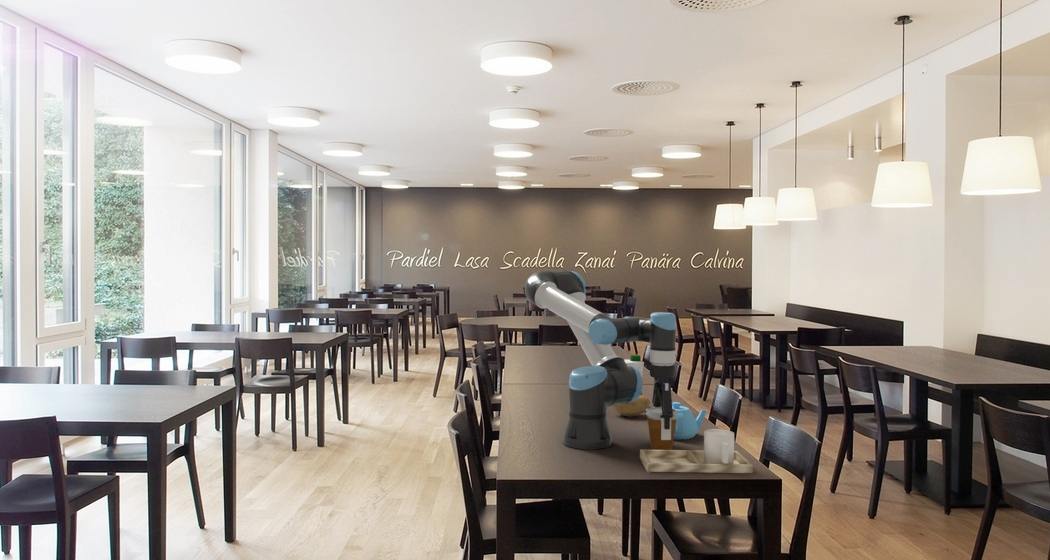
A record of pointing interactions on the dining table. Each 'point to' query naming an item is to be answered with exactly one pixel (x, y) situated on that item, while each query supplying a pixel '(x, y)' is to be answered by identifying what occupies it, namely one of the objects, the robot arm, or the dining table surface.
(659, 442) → the disposable coffee cup
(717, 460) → the white mug
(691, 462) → the cup carrier
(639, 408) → the potato
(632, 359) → the milk carton
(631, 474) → the dining table surface
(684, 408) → the teapot
